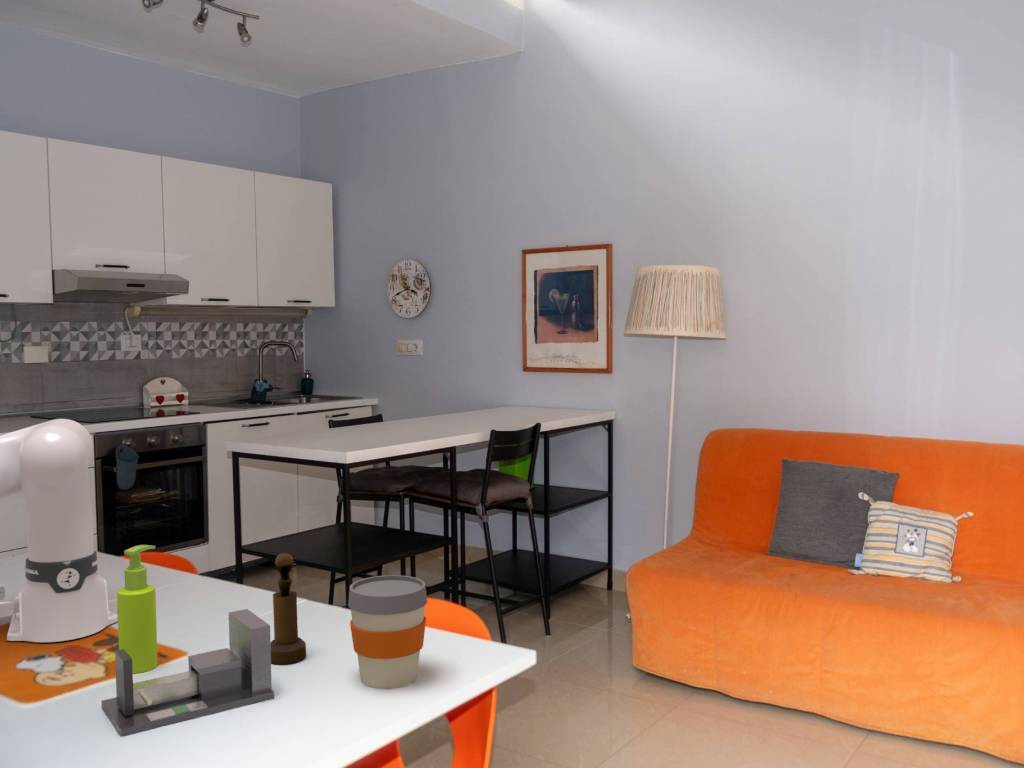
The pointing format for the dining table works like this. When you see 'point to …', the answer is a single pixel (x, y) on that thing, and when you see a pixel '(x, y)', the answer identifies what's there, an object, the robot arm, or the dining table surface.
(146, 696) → the plunger
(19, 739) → the dining table surface
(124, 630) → the soap dispenser
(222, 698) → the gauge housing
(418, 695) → the dining table surface
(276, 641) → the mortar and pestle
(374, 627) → the reusable coffee cup
